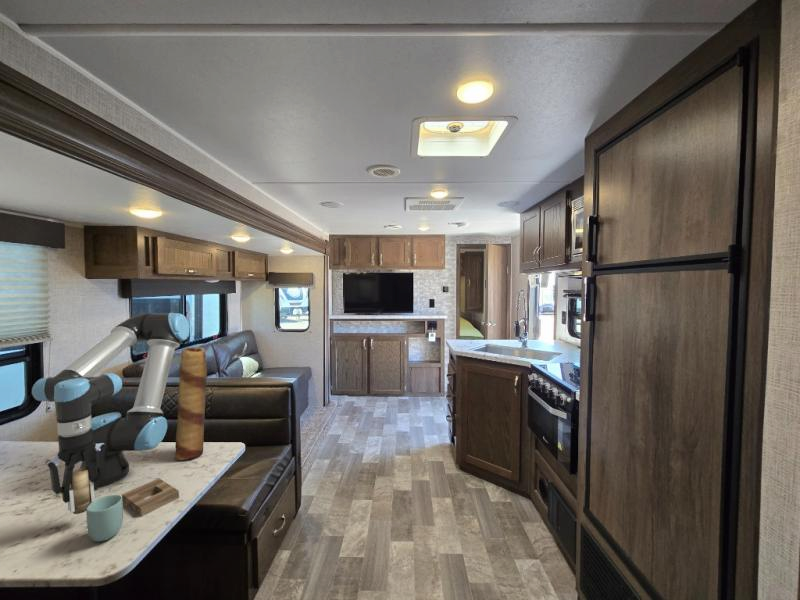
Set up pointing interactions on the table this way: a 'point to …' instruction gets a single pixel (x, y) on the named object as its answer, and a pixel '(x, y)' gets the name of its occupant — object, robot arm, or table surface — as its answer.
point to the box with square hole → (147, 505)
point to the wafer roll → (191, 404)
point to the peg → (80, 490)
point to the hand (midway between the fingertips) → (81, 505)
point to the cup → (105, 517)
